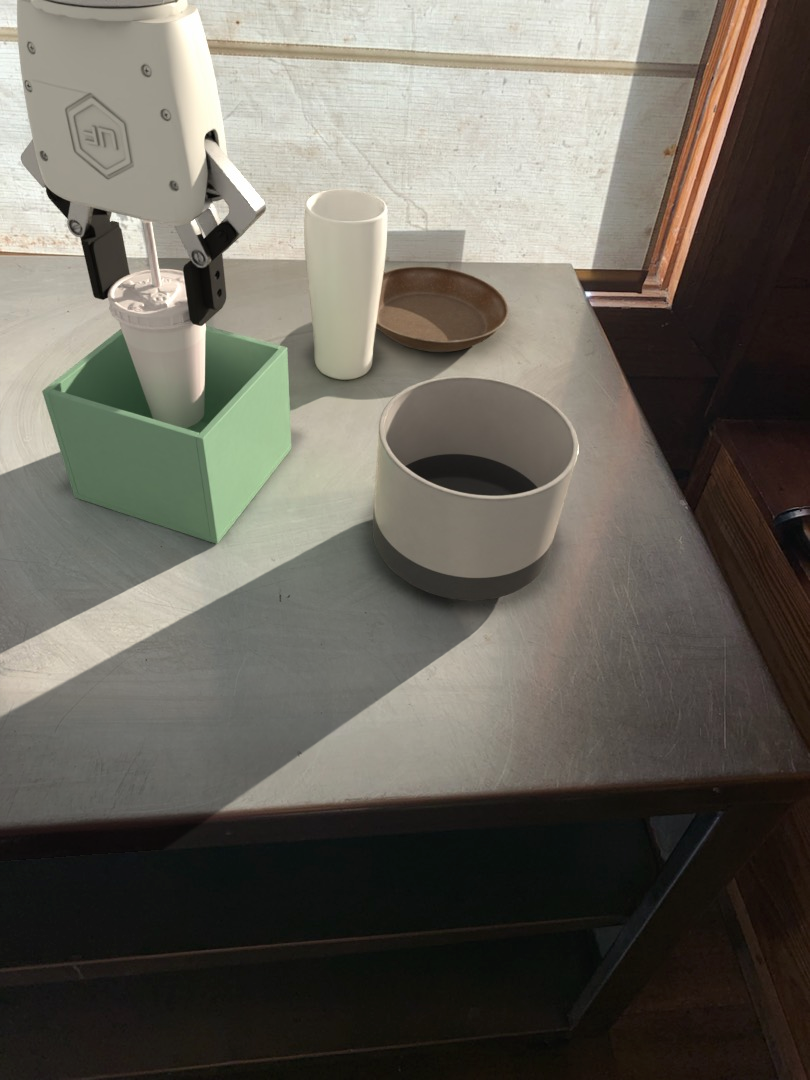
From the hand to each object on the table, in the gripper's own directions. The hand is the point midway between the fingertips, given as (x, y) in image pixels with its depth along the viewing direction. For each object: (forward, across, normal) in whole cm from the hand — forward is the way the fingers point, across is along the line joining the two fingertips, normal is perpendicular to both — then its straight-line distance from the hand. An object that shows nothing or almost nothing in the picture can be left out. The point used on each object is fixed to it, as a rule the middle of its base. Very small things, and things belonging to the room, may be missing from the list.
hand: (159, 300), depth 51 cm
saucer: (+15, +10, +30) cm, 35 cm away
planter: (+15, +22, +1) cm, 26 cm away
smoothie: (+9, 0, 0) cm, 9 cm away
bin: (+15, 0, 0) cm, 15 cm away
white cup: (+15, +5, +19) cm, 25 cm away
